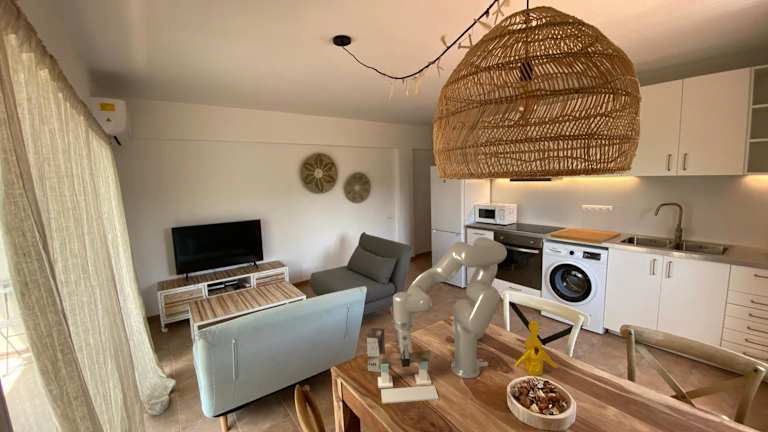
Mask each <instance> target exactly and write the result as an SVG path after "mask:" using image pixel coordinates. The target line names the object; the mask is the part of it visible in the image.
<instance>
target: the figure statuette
mask: <svg viewBox="0 0 768 432" xmlns="http://www.w3.org/2000/svg"><path fill="white" fill-rule="evenodd" d="M528 329H529V330H528V331H529V332H530V333H529V334H530V335H529V336H528V337H527V339H525V342H524V345H525V346H524V347H525V352H524V353H523V355H522V356H521V357H520V358H519V359H518V360H517V361H516V362H515V364H514V367H515V368H517V367H519V366H520V365H521V364H523V367H524V368H525V369H526V371H527V373H528V375H531V376H542V375H543V374H544V371H543V369H544V361H546V363H548V364H549V365H550V366H551V367H552V368H553V369H558V368H559V367H558V365H557V364H556V363H555V362H554V361H553V360H552V358H551V357H550V356H549V355H548V354H547V353H546V352H545V350H543V343H542V342H541V340H540V338H538V334H539V333H540V326H539V323H538V321H536V319H534V320H532V319H531V320H530V321H529V323H528Z"/></svg>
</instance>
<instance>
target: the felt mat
mask: <svg viewBox="0 0 768 432" xmlns="http://www.w3.org/2000/svg"><path fill="white" fill-rule="evenodd" d="M380 394H381V396H380V397H381V404H395V403H406V402H407V403H409V402H420V401H432V400H433V401H434V400H437V401H438V400H440V399H439V398H440V397H439V395H438V392H437V389H436V386H435V385H421V386H409V387H398V388H397V387H396V388H395V387H393V388H380Z"/></svg>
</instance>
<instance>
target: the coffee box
mask: <svg viewBox="0 0 768 432" xmlns="http://www.w3.org/2000/svg"><path fill="white" fill-rule="evenodd" d="M366 339H367V340H366V345H367V347H366V348H367V349H366V350H367V353H366V354H367V371H368V372H375V373H381V366H380V365H379V355H381V354H386V348H385V347H386V344H385V342H386V339H385V328H383V327H382V328H379V327H371V328H370V331H369V332H368V334H367V337H366Z"/></svg>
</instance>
